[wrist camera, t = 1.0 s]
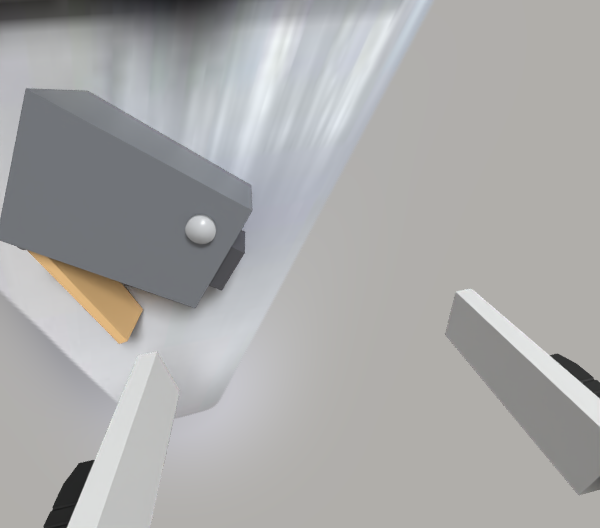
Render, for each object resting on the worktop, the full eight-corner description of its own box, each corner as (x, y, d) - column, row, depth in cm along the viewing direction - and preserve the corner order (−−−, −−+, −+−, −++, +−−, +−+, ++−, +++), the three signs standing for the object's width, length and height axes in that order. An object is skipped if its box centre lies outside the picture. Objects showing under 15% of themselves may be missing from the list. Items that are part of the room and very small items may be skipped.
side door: (56, 214, 29) (12, 241, 23) (65, 211, 29) (23, 237, 23) (136, 309, 36) (117, 347, 31) (143, 307, 36) (125, 344, 31)
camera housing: (56, 205, 28) (-12, 243, 21) (87, 90, 24) (16, 88, 17) (217, 272, 35) (209, 318, 28) (263, 192, 31) (269, 222, 24)
